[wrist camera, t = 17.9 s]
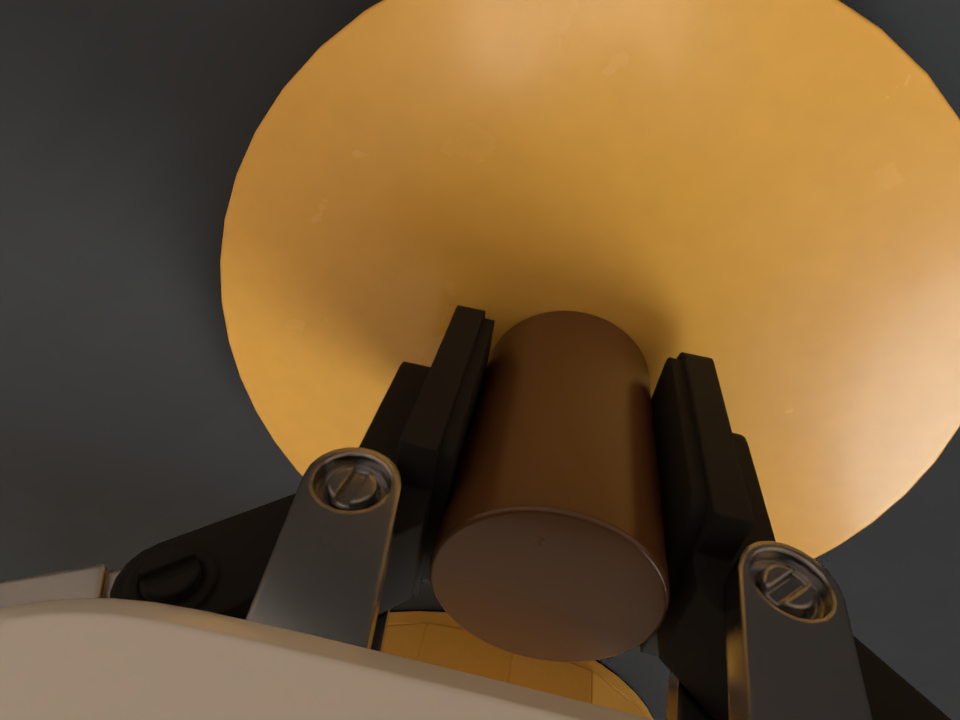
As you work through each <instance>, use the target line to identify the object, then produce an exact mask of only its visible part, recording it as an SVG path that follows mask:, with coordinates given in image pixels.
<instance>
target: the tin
mask: <svg viewBox="0 0 960 720" xmlns="http://www.w3.org/2000/svg"><path fill="white" fill-rule="evenodd" d="M382 652H384V653H388V654H392V655H396V656H400V657H404V658H408V659H412V660H417V661H421V662H425V663H429V664H433V665H437V666H441V667H445V668H449V669H453V670H457V671H462V672H466V673H470V674H474V675H478V676H482V677H486V678H490V679H494V680H498V681H502V682H506V683H510V684H514V685H518V686H522V687H526V688H530V689H534V690H538V691H542V692H546V693H550V694H554V695H558V696H562V697H566V698H570V699H574V700H578V701H582V702H586V703H590V704H594V705H598V706H602V707H606V708H610V709H614V710H618V711H622V712H626V713H630V714H634V715H638V716H642V717H646V718H650V719H653V718H652V716H651V714H650V712H649V711H648V709H647V707H646V706H645V704H644V703H643V702H642V701H641V699H640V698H639V697H638V696H637V694H636V693H635V692H634V691H633V690H632V689H631V688H630V687H629V686H628V685H627V684H626V683H625V682H624V681H622V680H621V679H620V678H619V677H618V676H617V675H615V674H614V673H612V672H611V671H610V670H608V669H607V668H606V667H604V666H603V665H602V664H600V663H599V662H597V661H595V660H594V661H584V662H556V661H546V660H539V659H533V658H529V657H524V656H520V655H517V654H514V653H510V652H507V651H505V650H502V649H499V648H497V647H495V646H492V645H490V644H488V643H486V642H484V641H482V640H480V639H479V638H477V637H475V636H473V635H472V634H471V633H469V632H468V631H466V630H465V629H463V628H462V627H461V626H460V625H459V624H457V623H456V622H455V621H454V620H453V619H452V618H451V617H450V616H449V615H448V614H447V613H446V612H431V611H406V612H390V614H389V619H388V625H387V630H386V635H385V640H384V645H383V651H382Z"/></svg>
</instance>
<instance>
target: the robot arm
mask: <svg viewBox="0 0 960 720" xmlns="http://www.w3.org/2000/svg"><path fill="white" fill-rule="evenodd" d="M485 313H486V312H485V311H484V310H479V309H474V308H470V307H465V306H460V305H457V307H456V309H455V312H454V314H453V316H452V319H451V321H450V323H449V326H448V328H447V330H446V333H445V335H444V337H443V340H442V342H441V344H440V347H439V349H438V351H437V354H436V356H435V358H434V361H433V363H432V365H431V367H428V366H423V365H419V364H414V363H409V362H405V361H404V362H402V364H401V365H400V367H399V369H398V371H397V373H396V375H395V377H394V379H393V381H392V382H391V384H390V386H389V388H388V390H387V392H386V394H385V396H384V398H383V400H382V402H381V404H380V406H379V408H378V410H377V412H376V414H375V416H374V418H373V420H372V422H371V424H370V426H369V428H368V430H367V432H366V434H365V436H364V438H363V440H362V442H361V444H360V446H359V447H347V448H341V449H336V450H332V451H330V452H328V453H326V454H323V455H321V456H320V457H318V458H317V459H316V460H315V461H314V462H312V463H311V464H310V465H309V467H308V469H307V470H306V472H305V473H304V475H303V477H302V480H301V482H300V485H299V487H298V490H297V492H296V494H293V495H290V496H288V497H285V498H282V499H279V500H277V501H274V502H271V503H268V504H266V505H263V506H260V507H257V508H255V509H252V510H249V511H246V512H244V513H241V514H238V515H235V516H233V517H230V518H227V519H224V520H222V521H219V522H216V523H213V524H211V525H208V526H205V527H203V528H200V529H197V530H194V531H192V532H189V533H186V534H183V535H181V536H178V537H175V538H172V539H170V540H167V541H164V542H161V543H159V544H157V545H155V546H153V547H151V548H148V549H146V550H144V551H142V552H141V553H140V554H138V555H137V556H136V557H135V558H133V559H132V560H131V561H129V562H128V563H127V564H126V565H125V567H124V568H120V569H115V570H109V571H107V568H106V565H105V563H104V564H98V565H92V566H86V567H81V568H75V569H69V570H64V571H58V572H52V573H47V574H41V575H35V576H30V577H24V578H18V579H12V580H7V581H1V582H0V720H654V719H650V718H646V717H642V716H638V715H634V714H630V713H626V712H622V711H618V710H614V709H610V708H606V707H602V706H598V705H594V704H590V703H586V702H582V701H578V700H574V699H570V698H566V697H562V696H558V695H554V694H550V693H546V692H542V691H538V690H534V689H530V688H526V687H522V686H518V685H514V684H510V683H506V682H502V681H498V680H494V679H490V678H486V677H482V676H478V675H474V674H470V673H466V672H462V671H457V670H453V669H449V668H445V667H441V666H437V665H433V664H429V663H425V662H421V661H417V660H412V659H408V658H404V657H400V656H396V655H392V654H388V653H384V652H382V651H383V645H384V640H385V635H386V630H387V625H388V619H389V614H390V609H391V608H393V607H395V606H397V605H399V604H401V603H403V602H405V601H407V600H409V599H411V598H412V597H416V598H417V597H418V593H419V590H420V587H421V583H422V580H423V579H426V580H430V573H429V568H430V559H431V555H432V552H433V548H434V545H435V541H436V538H437V535H438V531H439V528H440V524H441V521H442V518H443V515H444V512H445V509H446V505H447V502H448V499H449V495H450V492H451V488H452V485H453V481H454V478H455V475H456V471H457V468H458V464H459V461H460V457H461V454H462V451H463V447H464V444H465V440H466V437H467V434H468V430H469V427H470V423H471V420H472V416H473V413H474V410H475V406H476V403H477V399H478V396H479V392H480V389H481V386H482V382H483V379H484V375H485V372H486V368H487V363H488V358H489V352H490V346H491V341H492V335H493V330H494V323H495V320H491V319H486V318H485ZM651 403H652V413H653V423H654V433H655V443H656V454H657V464H658V474H659V484H660V494H661V504H662V515H663V525H664V535H665V545H666V555H667V565H668V576H669V586H670V602H669V607H668V611H667V613H666V615H665V618H664V620H663V622H662V624H661V625H660V627H659V628H658V629H657V631H656V632H655V633H654V634H653V635H652V636H651V637H650V638H649V639H647V640H646V641H644V642H643V643H642V644H640V648H641V652H643V653H647V654H651V655H655V656H659V659H660V660H661V661H662V662H663V663H664V664H665V665H666V666H667V667H668V669H669V670H670V675H669V680H668V693H667V716H666V720H951V719H950V718H949V717H947V716H946V715H945V714H944V713H943V712H942V711H940V710H939V709H938V708H937V707H936V706H935V705H933V704H932V703H931V702H930V701H929V700H928V699H926V698H925V697H924V696H923V695H922V694H921V693H920V692H918V691H917V690H916V689H915V688H914V687H913V686H911V685H910V684H909V683H908V682H907V681H906V680H904V679H903V678H902V677H901V676H900V675H899V674H897V673H896V672H895V671H894V670H893V669H892V668H890V667H889V666H888V665H887V664H886V663H885V662H883V661H882V660H881V659H880V658H879V657H878V656H876V655H875V654H874V653H873V652H872V651H871V650H869V649H868V648H867V647H866V646H865V645H864V644H862V643H861V642H860V641H859V640H858V639H857V638H856V637H854V636H853V634H852V629H851V625H850V621H849V617H848V612H847V608H846V604H845V600H844V597H843V595H842V592H841V590H840V587H839V585H838V584H837V583H836V581H835V580H834V579H833V577H832V576H831V574H830V573H829V572H828V571H827V570H826V569H825V568H824V567H823V566H822V565H821V564H819V563H818V562H817V561H816V560H815V559H813V558H812V557H810V556H809V555H807V554H806V553H804V552H803V551H801V550H799V549H796V548H794V547H792V546H789V545H787V544H784V543H779V542H776V540H775V537H774V533H773V530H772V526H771V523H770V519H769V516H768V512H767V509H766V505H765V502H764V498H763V495H762V491H761V488H760V484H759V481H758V477H757V474H756V470H755V467H754V463H753V460H752V456H751V453H750V449H749V446H748V443H747V441H746V438H745V437H744V436H743V435H741V434H736V433H732V430H731V426H730V422H729V418H728V414H727V410H726V407H725V403H724V399H723V395H722V391H721V387H720V383H719V380H718V376H717V372H716V368H715V364H714V361H713V359H712V358H708V357H703V356H699V355H694V354H689V353H684V352H681V353H680V354H679V356H678V357H677V359H676V358H671V357H669V358H668V359H667V360H666V362H665V364H664V367H663V369H662V372H661V375H660V377H659V380H658V383H657V385H656V388H655V390H654V393H653V396H652V398H651ZM430 581H431V580H430Z"/></svg>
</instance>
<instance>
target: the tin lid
mask: <svg viewBox="0 0 960 720" xmlns="http://www.w3.org/2000/svg"><path fill="white" fill-rule="evenodd" d="M220 269H221V295H222V306H223V312H224V318H225V323H226V329H227V334H228V340H229V343H230V347H231V350H232V353H233V356H234V359H235V362H236V365H237V368H238V372H239V375H240V378H241V380H242V382H243V384H244V386H245V388H246V391H247V393H248V395H249V397H250V399H251V401H252V404H253V406H254V408H255V410H256V412H257V413H258V415H259V417H260V418H261V420H262V422H263V423H264V425H265V427H266V428H267V430H268V431H269V433H270V435H271V436H272V438H273V440H274V441H275V443H276V444H277V445H278V446H279V448H280V449H281V450H282V452H283V453H284V454H285V456H286V457H287V458H288V459H289V461H290V462H291V463H292V465H293V466H294V467H295V468H296V470H297V471H298V472H299V473H300V474H301V475H302V476H303V475H304V473H305V472H306V470H307V469H308V467H309V465H310V464H311V463H312V462H314V461H315V460H316V459H317V458H318V457H320V456H321V455H323V454H326V453H328V452H330V451H332V450H336V449H341V448H347V447H359V446H360V444H361V442H362V440H363V438H364V436H365V434H366V432H367V430H368V428H369V426H370V424H371V422H372V420H373V418H374V416H375V414H376V412H377V410H378V408H379V406H380V404H381V402H382V400H383V398H384V396H385V394H386V392H387V390H388V388H389V386H390V384H391V382H392V381H393V379H394V377H395V375H396V373H397V371H398V369H399V367H400V365H401V364H402V362H404V361H405V362H409V363H414V364H419V365H423V366H428V367H431V365H432V363H433V361H434V358H435V356H436V354H437V351H438V349H439V347H440V344H441V342H442V340H443V337H444V335H445V333H446V330H447V328H448V326H449V323H450V321H451V319H452V316H453V314H454V312H455V309H456V307H457V305H460V306H465V307H470V308H474V309H479V310H484V311H485V312H486V313H485V318H486V319H491V320H495V323H494V330H493V335H492V341H491V346H490V352H489V358H488V363H487V368H486V372H485V375H484V379H483V382H482V386H481V389H480V392H479V396H478V399H477V403H476V406H475V410H474V413H473V416H472V420H471V423H470V427H469V430H468V434H467V437H466V440H465V444H464V447H463V451H462V454H461V457H460V461H459V464H458V468H457V471H456V475H455V478H454V481H453V485H452V488H451V492H450V495H449V499H448V502H447V505H446V509H445V512H444V515H443V518H442V521H441V524H440V528H439V531H438V535H437V538H436V541H435V545H434V548H433V552H432V555H431V559H430V568H429V573H430V580H431V585H432V588H433V591H434V594H435V596H436V598H437V599H438V601H439V603H440V605H441V606H442V607H443V609H444V610H445V611H446V613H447V614H448V615H449V616H450V617H451V618H452V619H453V620H454V621H455V622H456V623H457V624H459V625H460V626H461V627H462V628H463V629H465V630H466V631H468V632H469V633H471V634H472V635H473V636H475V637H477V638H479V639H480V640H482V641H484V642H486V643H488V644H490V645H492V646H495V647H497V648H499V649H502V650H505V651H507V652H510V653H514V654H517V655H520V656H524V657H529V658H533V659H539V660H546V661H556V662H584V661H594V660H599V659H605V658H609V657H612V656H616V655H619V654H622V653H624V652H627V651H629V650H631V649H633V648H635V647H637V646H639V645H640V644H642V643H643V642H644V641H646V640H647V639H649V638H650V637H651V636H652V635H653V634H654V633H655V632H656V631H657V629H658V628H659V627H660V625H661V624H662V622H663V620H664V618H665V615H666V613H667V611H668V607H669V602H670V586H669V576H668V565H667V555H666V545H665V535H664V525H663V515H662V504H661V494H660V484H659V474H658V464H657V454H656V443H655V433H654V423H653V413H652V403H651V398H652V396H653V393H654V390H655V388H656V385H657V383H658V380H659V377H660V375H661V372H662V369H663V367H664V364H665V362H666V360H667V359H668V358H669V357H671V358H676V359H677V357H678V356H679V354H680V353H681V352H684V353H689V354H694V355H699V356H703V357H708V358H712V359H713V361H714V364H715V368H716V372H717V376H718V380H719V383H720V387H721V391H722V395H723V399H724V403H725V407H726V410H727V414H728V418H729V422H730V426H731V430H732V433H736V434H741V435H743V436H744V437H745V438H746V441H747V443H748V446H749V449H750V453H751V456H752V460H753V463H754V467H755V470H756V474H757V477H758V481H759V484H760V488H761V491H762V495H763V498H764V502H765V505H766V509H767V512H768V516H769V519H770V523H771V526H772V530H773V533H774V537H775V540H776V542H779V543H784V544H787V545H789V546H792V547H794V548H796V549H799V550H801V551H803V552H804V553H806V554H807V555H809V556H810V557H812V558H813V559H815V558H817V557H818V556H820V555H822V554H824V553H826V552H828V551H830V550H832V549H833V548H835V547H837V546H839V545H840V544H842V543H843V542H845V541H846V540H848V539H849V538H851V537H852V536H854V535H855V534H857V533H858V532H859V531H861V530H862V529H864V528H865V527H867V526H868V525H870V524H871V523H873V522H874V521H875V520H876V519H877V518H879V517H880V516H881V515H882V514H883V513H884V512H886V511H887V510H888V509H889V508H890V507H891V506H893V505H894V504H895V503H896V502H897V501H898V500H900V499H901V498H902V497H903V496H904V495H905V494H906V493H907V492H908V491H909V490H910V489H911V488H912V487H913V486H914V485H915V484H916V482H917V481H918V480H919V479H920V478H921V477H922V476H923V475H924V474H925V473H926V471H927V470H928V469H929V468H930V467H931V466H932V465H933V464H934V463H935V462H936V460H937V459H938V457H939V456H940V454H941V453H942V452H943V450H944V449H945V447H946V446H947V444H948V443H949V441H950V440H951V438H952V437H953V436H954V434H955V433H956V431H957V430H958V428H959V427H960V119H959V117H958V116H957V115H956V113H955V112H954V110H953V109H952V108H951V106H950V105H949V103H948V102H947V100H946V99H945V98H944V96H943V95H942V93H941V92H940V91H939V89H938V88H937V86H936V85H935V83H934V82H933V81H932V79H931V78H930V76H929V75H928V74H927V73H926V72H925V71H924V70H923V69H922V68H921V67H920V66H919V65H918V64H917V63H916V62H915V61H914V60H913V59H912V58H911V57H910V56H909V55H908V54H907V53H906V52H905V51H904V50H903V49H902V48H901V47H900V46H899V45H898V44H897V43H896V42H894V41H893V40H892V39H891V38H890V37H889V36H888V35H887V34H886V33H885V32H884V31H883V30H882V29H881V28H880V27H878V26H877V25H875V24H874V23H872V22H871V21H869V20H868V19H866V18H865V17H863V16H862V15H860V14H859V13H858V12H856V11H855V10H853V9H852V8H850V7H849V6H847V5H846V4H844V3H843V2H841V1H840V0H382V1H380V2H378V3H377V4H375V5H373V6H371V7H370V8H368V9H366V10H365V11H363V12H362V13H361V14H360V15H358V16H357V17H356V18H355V19H354V20H352V21H351V22H350V23H349V24H347V25H346V26H345V27H344V28H343V29H341V30H340V31H339V32H338V33H336V34H335V35H334V36H333V37H332V38H330V39H329V40H328V41H327V42H325V43H324V44H323V45H322V46H320V47H319V48H318V49H317V51H316V52H315V53H314V54H313V55H312V56H311V57H310V58H309V60H308V61H307V62H306V63H305V64H304V65H303V66H302V67H301V69H300V70H299V71H298V72H297V73H296V74H295V75H294V76H293V78H292V79H291V80H290V81H289V82H288V83H287V84H286V85H285V86H284V88H283V89H282V91H281V92H280V94H279V95H278V97H277V98H276V100H275V101H274V103H273V105H272V106H271V108H270V109H269V111H268V112H267V114H266V116H265V117H264V119H263V120H262V122H261V123H260V125H259V126H258V128H257V130H256V131H255V133H254V136H253V138H252V140H251V143H250V145H249V147H248V149H247V152H246V154H245V156H244V159H243V161H242V163H241V165H240V168H239V170H238V172H237V175H236V178H235V182H234V186H233V190H232V194H231V197H230V201H229V205H228V209H227V213H226V216H225V222H224V231H223V240H222V250H221V259H220Z"/></svg>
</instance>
